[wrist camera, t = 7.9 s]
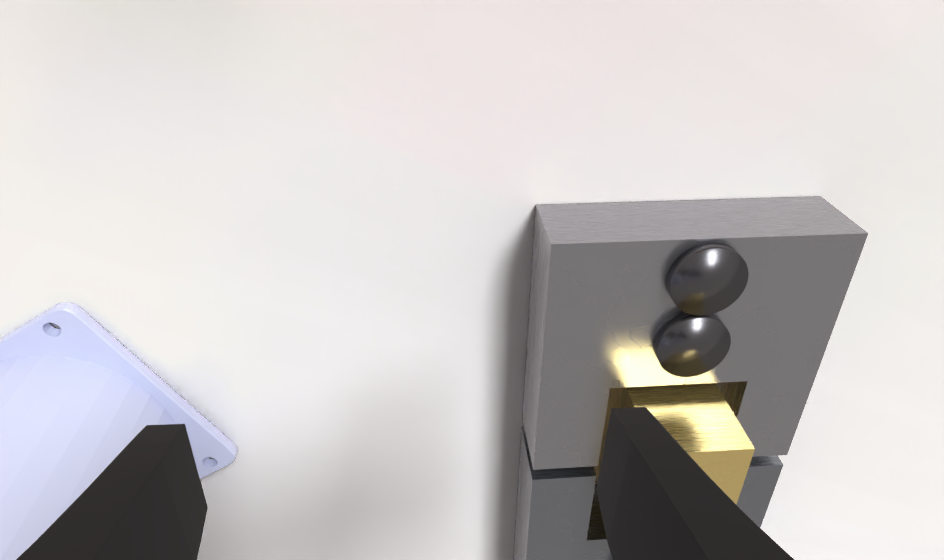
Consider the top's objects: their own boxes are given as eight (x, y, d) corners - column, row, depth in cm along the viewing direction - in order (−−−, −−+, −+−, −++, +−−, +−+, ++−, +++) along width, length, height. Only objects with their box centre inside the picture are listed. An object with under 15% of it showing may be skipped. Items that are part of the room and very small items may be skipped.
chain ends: (707, 557, 30) (734, 617, 27) (512, 571, 29) (521, 634, 27) (820, 196, 20) (877, 240, 18) (536, 204, 20) (554, 251, 17)
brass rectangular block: (664, 462, 26) (712, 574, 22) (591, 466, 26) (626, 580, 22) (692, 344, 23) (754, 448, 19) (609, 348, 23) (654, 454, 19)
